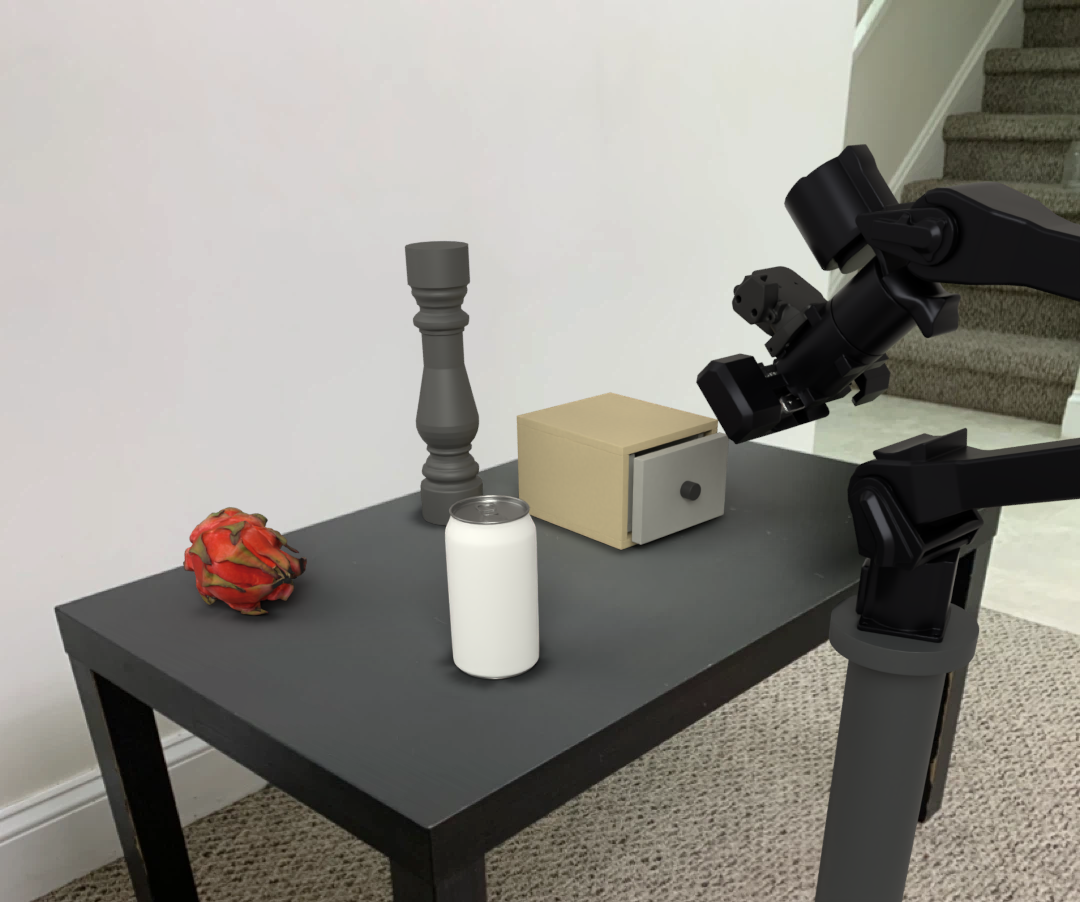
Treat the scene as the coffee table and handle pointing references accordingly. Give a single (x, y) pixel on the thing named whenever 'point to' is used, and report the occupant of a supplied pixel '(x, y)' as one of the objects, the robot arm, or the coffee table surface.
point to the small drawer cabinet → (593, 459)
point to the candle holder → (444, 376)
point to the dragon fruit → (241, 561)
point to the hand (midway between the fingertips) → (735, 438)
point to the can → (493, 586)
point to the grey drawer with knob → (676, 485)
